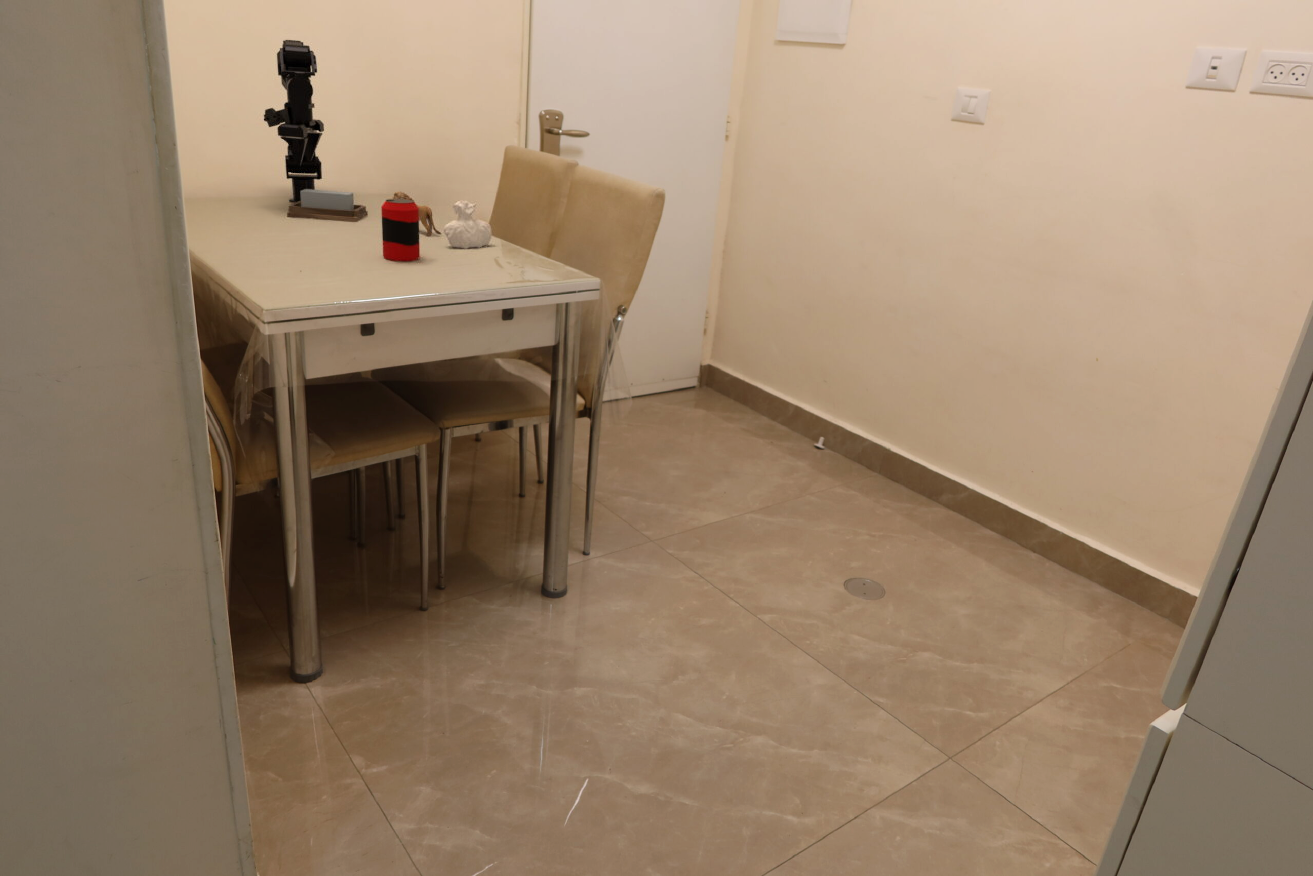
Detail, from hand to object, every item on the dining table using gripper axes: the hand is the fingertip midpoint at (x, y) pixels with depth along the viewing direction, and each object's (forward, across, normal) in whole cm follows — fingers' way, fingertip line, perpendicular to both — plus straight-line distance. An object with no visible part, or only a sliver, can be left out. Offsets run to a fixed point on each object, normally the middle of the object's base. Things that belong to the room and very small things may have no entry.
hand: (303, 162), depth 233 cm
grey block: (+11, +7, +8) cm, 15 cm away
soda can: (+11, +51, +35) cm, 62 cm away
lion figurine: (+12, +20, +32) cm, 39 cm away
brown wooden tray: (+12, +7, +8) cm, 16 cm away
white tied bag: (+11, +33, +46) cm, 58 cm away
